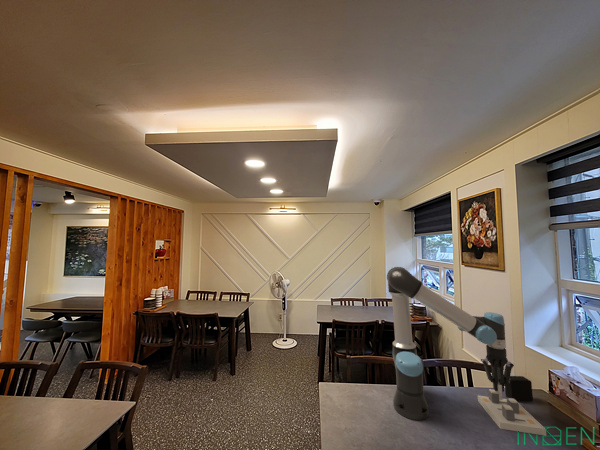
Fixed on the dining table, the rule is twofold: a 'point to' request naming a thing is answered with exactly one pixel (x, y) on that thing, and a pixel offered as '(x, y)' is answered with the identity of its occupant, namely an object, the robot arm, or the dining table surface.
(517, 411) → the slider mid
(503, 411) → the slider near
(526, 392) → the electronic device
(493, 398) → the slider far
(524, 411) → the switch unit
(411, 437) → the dining table surface
